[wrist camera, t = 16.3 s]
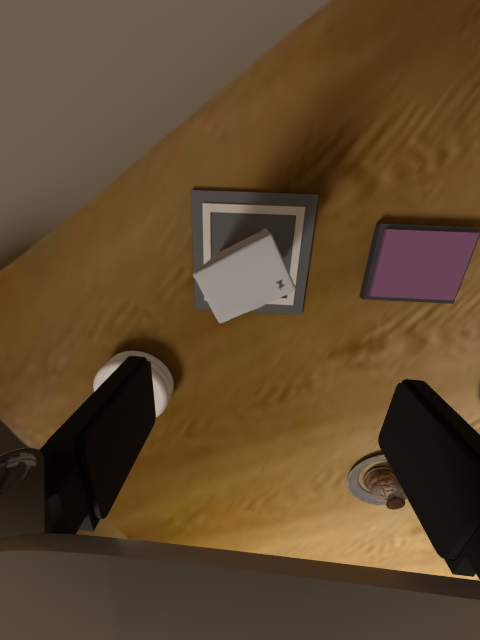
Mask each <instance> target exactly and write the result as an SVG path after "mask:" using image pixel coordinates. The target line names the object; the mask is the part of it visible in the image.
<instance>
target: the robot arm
mask: <svg viewBox="0 0 480 640" xmlns="http://www.w3.org/2000/svg"><path fill="white" fill-rule="evenodd" d="M479 398H480V387H479ZM155 419H156V411H155V401H154V390H153V380H152V369H151V362H150V361H147V359H146V358H145V357H140V356H129V357H127V358H126V359H125V361H124V362H123V363H122V364H121V365H120V366H119V367H118V368H117V369H116V370H115V371H114V372H113V373H112V374H111V375H110V376H109V377H108V378H107V379H106V380H105V381H104V382H103V383H102V384H101V385H100V386H99V388H98V389H97V390H96V391H95V392H94V393H93V394H92V395H91V396H90V397H89V398H88V399H87V400H86V401H85V402H84V403H83V404H82V405H81V406H80V407H79V408H78V409H77V410H76V411H75V412H74V413H73V415H72V416H71V417H70V418H69V419H68V420H67V421H66V422H65V423H64V424H63V425H62V426H61V427H60V428H59V429H58V430H57V431H56V432H55V433H54V434H53V435H52V436H51V437H50V438H49V439H48V440H47V442H46V443H45V445H44V446H43V447H42V448H41V449H40V450H38V449H35V448H21V449H17V450H14V451H10V452H8V453H6V454H3V455H1V456H0V640H480V581H477V580H469V579H461V578H453V577H445V576H437V575H429V574H421V573H413V572H406V571H398V570H390V569H382V568H374V567H366V566H357V565H349V564H341V563H332V562H324V561H316V560H307V559H299V558H290V557H282V556H274V555H265V554H257V553H248V552H240V551H231V550H222V549H213V548H204V547H196V546H187V545H178V544H169V543H160V542H151V541H143V540H132V539H120V538H111V537H99V536H89V535H78V534H76V533H77V531H78V530H85V531H94V529H95V528H96V526H97V524H98V522H99V520H100V519H104V518H105V517H106V516H107V515H108V513H109V511H110V509H111V507H112V505H113V503H114V501H115V499H116V498H117V496H118V494H119V492H120V490H121V488H122V486H123V484H124V482H125V480H126V478H127V476H128V474H129V472H130V470H131V468H132V466H133V464H134V463H135V461H136V459H137V457H138V455H139V453H140V451H141V449H142V447H143V445H144V443H145V441H146V439H147V437H148V435H149V433H150V431H151V429H152V428H153V426H154V423H155ZM378 442H379V446H380V448H381V450H382V452H383V454H384V456H385V458H386V459H387V461H388V463H389V465H390V467H391V469H392V471H393V472H394V474H395V476H396V478H397V480H398V482H399V484H400V485H401V487H402V489H403V491H404V493H405V495H406V497H407V498H408V500H409V502H410V504H411V506H412V508H413V510H414V511H415V513H416V515H417V517H418V519H419V521H420V523H421V524H422V526H423V528H424V530H425V532H426V534H427V536H428V538H429V539H430V541H431V543H432V545H433V547H434V549H435V550H436V552H437V554H438V555H439V556H440V557H442V558H444V559H445V561H446V563H447V565H448V567H449V568H450V570H451V572H452V574H455V575H464V576H472V577H473V576H474V575H475V574H477V576H478V577H479V579H480V435H479V434H478V433H477V432H476V431H475V430H474V429H473V428H472V427H471V426H470V425H469V424H468V423H467V422H466V421H465V420H464V419H463V418H462V417H461V416H460V415H459V414H458V413H457V412H456V411H455V410H454V409H452V408H451V407H450V406H449V405H448V404H447V403H446V402H445V401H444V400H443V399H442V398H441V397H440V396H439V395H438V394H437V393H436V392H435V391H434V390H433V389H432V388H431V387H430V386H429V385H428V384H427V383H425V382H424V381H420V380H409V379H405V380H403V381H402V383H399V384H398V385H397V387H396V389H395V392H394V395H393V398H392V401H391V403H390V406H389V409H388V412H387V415H386V417H385V420H384V423H383V426H382V428H381V431H380V434H379V437H378Z"/></svg>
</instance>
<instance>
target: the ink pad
mask: <svg viewBox="0 0 480 640" xmlns="http://www.w3.org/2000/svg"><path fill="white" fill-rule="evenodd" d="M479 236H480V227H454V226H429V225H403V224H376V227H375V231H374V236H373V240H372V245H371V249H370V253H369V258H368V262H367V266H366V271H365V275H364V279H363V284H362V288H361V292H360V297H361V298H362V299H371V300H391V301H412V302H432V303H452V304H454V301H455V298H456V296H457V293H458V291H459V288H460V285H461V283H462V280H463V278H464V275H465V272H466V270H467V267H468V265H469V262H470V259H471V257H472V254H473V252H474V249H475V246H476V244H477V241H478V239H479Z"/></svg>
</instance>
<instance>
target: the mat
mask: <svg viewBox="0 0 480 640" xmlns="http://www.w3.org/2000/svg"><path fill="white" fill-rule="evenodd" d="M318 195H319V194H291V193H262V192H233V191H204V190H191V205H192V233H193V261H194V273H195V272H196V271H197V270H198V269H199V268H201V267H202V266H203V265H204V264H205V263H207V262H208V261H209V260H210V259H211V258H212V257H214V256H215V255H216V254H217V253H218V252H220V251H222V250H224V249H226V248H228V247H230V246H232V245H234V244H236V243H238V242H240V241H242V240H244V239H246V238H248V237H249V236H251V235H253V234H255V233H257V232H259V231H261V230H263V229H265V228H266V229H267V230H268V231H269V232H270V233H271V234H272V236H273V238H274V240H275V242H276V244H277V247H278V249H279V251H280V253H281V256H282V258H283V260H284V262H285V265H286V267H287V269H288V271H289V274H290V276H291V278H292V280H293V282H294V285H295V287H296V290H295V291H294V292H292V293H289V294H287V295H285V296H283V297H280V298H278V299H276V300H274V301H272V302H269V303H267V304H265V305H263V306H262V307H260V308H257V309H255V310H252V311H249V312H261V313H280V314H299V315H302V309H303V302H304V295H305V288H306V281H307V273H308V266H309V259H310V252H311V245H312V238H313V231H314V224H315V217H316V210H317V202H318ZM194 289H195V309H204V310H212V309H211V308H210V306H209V304H208V302H207V300H206V298H205V296H204V295H203V293H202V291H201V289H200V287H199V285H198V283H197V281H196V280H195V278H194Z"/></svg>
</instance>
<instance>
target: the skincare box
mask: <svg viewBox="0 0 480 640" xmlns="http://www.w3.org/2000/svg"><path fill="white" fill-rule="evenodd" d="M193 276H194V278H195V280H196V281H197V283H198V285H199V287H200V289H201V291H202V293H203V295H204V296H205V298H206V300H207V302H208V304H209V306H210V308H211V309H212V311H213V313H214V315H215V317H216V319H217V320H218V322H219V323H223V322H225V321H228V320H230V319H232V318H234V317H237V316H239V315H241V314H244V313H246V312H249V311H252V310H255V309H257V308H260V307H262V306H263V305H265V304H267V303H269V302H272V301H274V300H276V299H278V298H280V297H283V296H285V295H287V294H289V293H292V292H294V291H295V290H296V287H295V285H294V282H293V280H292V278H291V276H290V274H289V271H288V269H287V267H286V265H285V262H284V260H283V258H282V256H281V253H280V251H279V249H278V247H277V244H276V242H275V240H274V238H273V236H272V234H271V233H270V232H269V231H268V230H267V229H266V228H265V229H263V230H261V231H259V232H257V233H255V234H253V235H251V236H249V237H248V238H246V239H244V240H242V241H240V242H238V243H236V244H234V245H232V246H230V247H228V248H226V249H224V250H222V251H220V252H218V253H217V254H216V255H215V256H214V257H212V258H211V259H210V260H209V261H208V262H207V263H205V264H204V265H203V266H202V267H201V268H199V269H198V270H197V271H196V272H195V273H193Z"/></svg>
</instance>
